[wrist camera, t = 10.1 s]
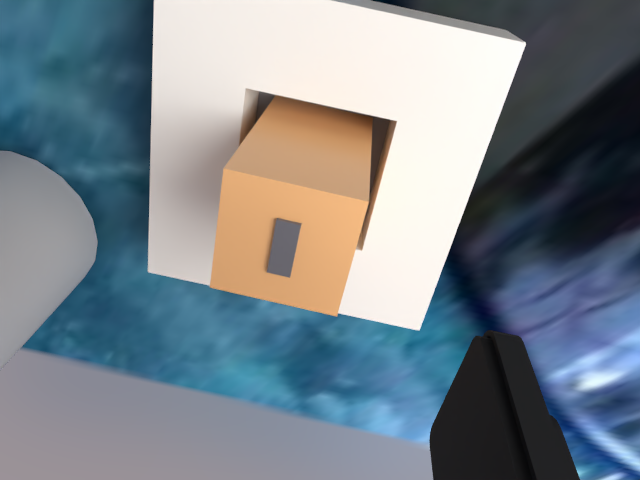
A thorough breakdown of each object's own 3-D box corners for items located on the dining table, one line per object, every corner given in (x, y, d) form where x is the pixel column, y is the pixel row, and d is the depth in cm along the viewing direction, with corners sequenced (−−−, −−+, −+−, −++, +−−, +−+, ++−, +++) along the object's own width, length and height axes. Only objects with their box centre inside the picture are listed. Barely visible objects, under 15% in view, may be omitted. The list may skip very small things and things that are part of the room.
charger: (276, 95, 21) (222, 169, 14) (372, 117, 21) (369, 203, 14) (261, 184, 23) (208, 289, 16) (350, 204, 23) (336, 318, 16)
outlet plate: (185, -40, 19) (154, -39, 16) (506, 29, 19) (526, 43, 16) (172, 238, 25) (147, 271, 22) (415, 290, 25) (419, 330, 22)
